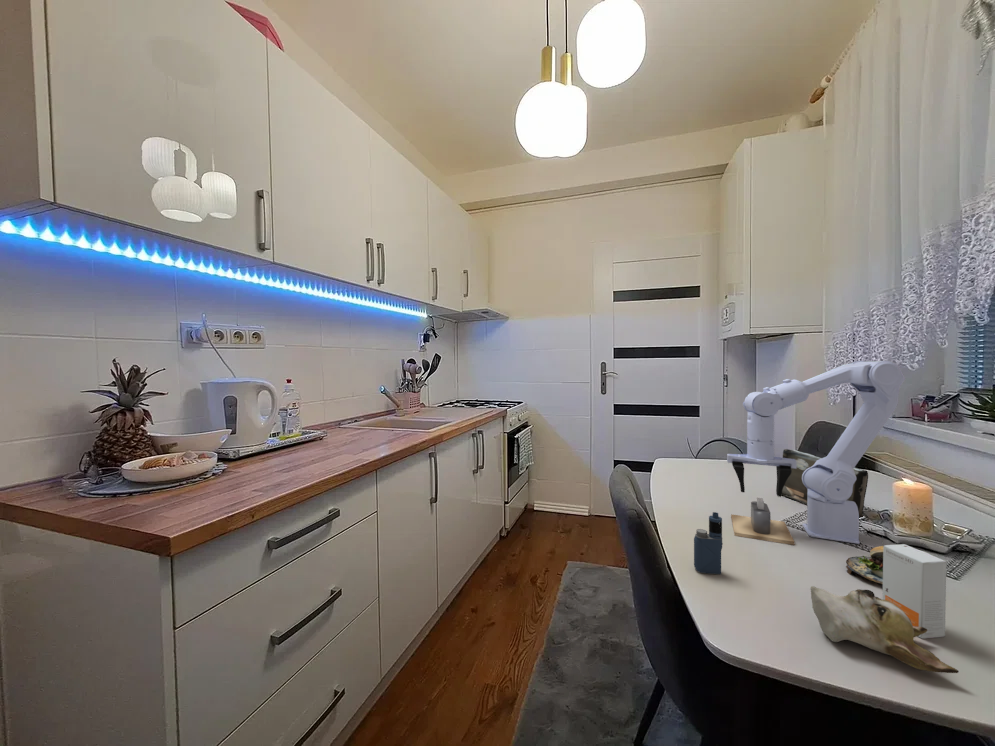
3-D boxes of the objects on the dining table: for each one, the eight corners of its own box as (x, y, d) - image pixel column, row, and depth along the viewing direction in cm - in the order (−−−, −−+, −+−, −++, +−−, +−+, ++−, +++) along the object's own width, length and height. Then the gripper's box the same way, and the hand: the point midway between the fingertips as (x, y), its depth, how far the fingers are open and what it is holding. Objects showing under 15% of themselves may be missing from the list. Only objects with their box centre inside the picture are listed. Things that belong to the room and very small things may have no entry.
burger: (838, 576, 80) (838, 539, 80) (853, 558, 87) (853, 524, 87) (926, 605, 70) (926, 563, 70) (934, 582, 77) (935, 543, 77)
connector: (765, 521, 105) (766, 494, 105) (771, 535, 96) (771, 506, 96) (750, 519, 106) (750, 493, 106) (754, 532, 98) (754, 504, 98)
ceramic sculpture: (805, 561, 68) (928, 590, 61) (801, 610, 68) (922, 645, 61) (818, 593, 59) (966, 632, 51) (813, 650, 59) (959, 696, 52)
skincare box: (880, 615, 67) (881, 544, 67) (903, 613, 68) (904, 543, 67) (922, 640, 61) (923, 562, 61) (947, 638, 61) (948, 560, 61)
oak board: (784, 524, 104) (784, 521, 104) (794, 545, 93) (794, 541, 93) (731, 517, 110) (731, 514, 110) (734, 535, 98) (734, 532, 98)
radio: (875, 521, 106) (875, 465, 106) (845, 522, 106) (846, 466, 105) (800, 493, 130) (800, 447, 129) (775, 494, 129) (776, 448, 128)
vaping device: (724, 575, 80) (724, 515, 80) (696, 572, 81) (696, 514, 81) (719, 568, 83) (720, 511, 82) (692, 566, 84) (692, 509, 83)
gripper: (728, 440, 101) (728, 494, 101) (799, 445, 94) (799, 502, 94) (726, 435, 107) (726, 486, 107) (793, 439, 100) (793, 493, 101)
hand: (760, 493), depth 101 cm, fingers open, 7 cm apart
